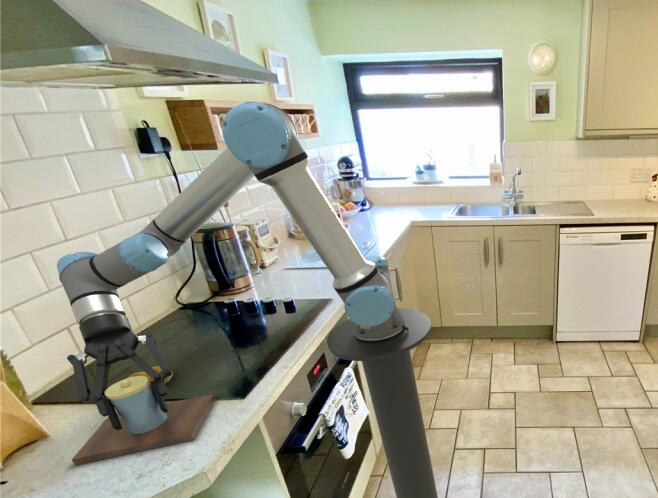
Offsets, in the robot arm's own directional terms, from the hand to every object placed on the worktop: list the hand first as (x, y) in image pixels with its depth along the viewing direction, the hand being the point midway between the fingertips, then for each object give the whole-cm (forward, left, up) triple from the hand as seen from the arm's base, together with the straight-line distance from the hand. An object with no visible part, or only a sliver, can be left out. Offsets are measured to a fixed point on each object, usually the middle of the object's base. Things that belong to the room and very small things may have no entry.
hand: (141, 419), depth 83 cm
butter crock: (+1, -3, -3) cm, 5 cm away
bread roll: (+9, -23, -5) cm, 26 cm away
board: (+1, -3, -5) cm, 6 cm away
